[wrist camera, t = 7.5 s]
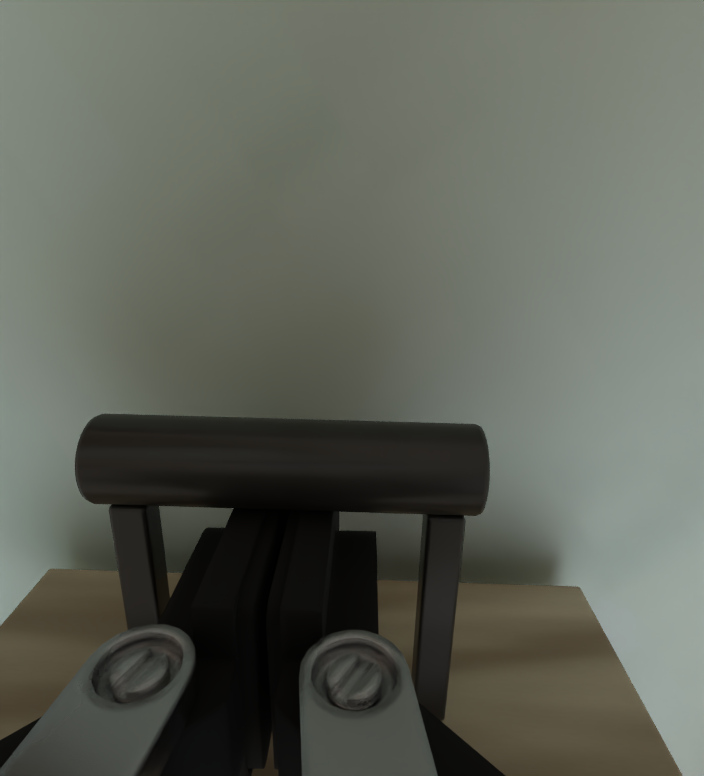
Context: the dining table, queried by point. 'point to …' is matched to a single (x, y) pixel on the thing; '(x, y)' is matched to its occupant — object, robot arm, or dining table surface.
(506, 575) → the dining table surface
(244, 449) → the drawer
